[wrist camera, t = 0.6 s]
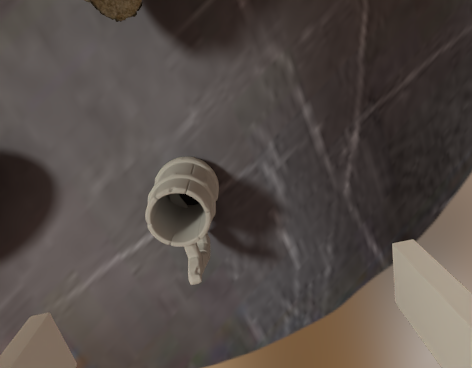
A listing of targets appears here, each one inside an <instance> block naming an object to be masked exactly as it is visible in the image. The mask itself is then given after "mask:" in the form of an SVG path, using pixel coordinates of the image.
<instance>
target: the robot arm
mask: <svg viewBox="0 0 472 368" xmlns="http://www.w3.org/2000/svg"><path fill="white" fill-rule="evenodd" d="M392 250H393V270H394V289H395V303H396V305H397V306H398V308H399V309H400V310H401V312H402V313H403V315H404V316H405V317H406V319H407V320H408V322H409V323H410V324H411V326H412V327H413V328H414V330H415V331H416V333H417V334H418V335H419V337H420V338H421V340H422V341H423V342H424V344H425V345H426V347H427V348H428V349H429V351H430V352H431V354H432V355H433V356H434V358H435V359H436V361H437V362H438V363H439V365H440V366H441V367H442V368H472V293H471V292H470V291H469V290H468V289H467V288H465V287H464V286H463V285H462V284H461V283H460V282H459V281H458V280H457V279H456V278H454V276H452V275H451V274H450V273H449V272H448V271H447V270H446V269H445V268H444V267H443V266H442V265H441V264H440V263H438V262H437V261H436V260H435V259H434V258H433V257H432V256H431V255H430V254H429V253H428V252H426V251H425V250H424V249H423V248H422V247H421V246H420V245H419V244H418V243H417V242H416V241H415V240H414V239H412V240H407V241H402V242H397V243H392ZM76 366H77V363H76V361H75V359H74V358H73V356H72V354H71V352H70V350H69V348H68V346H67V344H66V343H65V341H64V339H63V337H62V335H61V333H60V331H59V329H58V328H57V326H56V324H55V322H54V320H53V318H52V316H51V314H50V313H45V314H40V315H35V316H30V318H29V319H28V320H27V321H26V323H25V324H24V325H23V327H22V328H21V329H20V331H19V332H18V333H17V334H16V336H15V337H14V338H13V340H12V341H11V342H10V343H9V345H8V346H7V347H6V349H5V350H4V351H3V353H2V354H1V355H0V368H76Z"/></svg>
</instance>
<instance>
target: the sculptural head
mask: <svg viewBox="0 0 472 368" xmlns="http://www.w3.org/2000/svg"><path fill="white" fill-rule="evenodd" d="M85 1H87V2H91V4H93V6H94V7H95V8H96V9H97V10H99V11H100V13H101V14H102V15H105V16H106V17H109V18H111V19H112V20H113V19H115V20H116V22H118V21H120V22H121V21H122V20H125V19H126V18H128V17H132V16H133V17H135V16H136V15H137V12H136V11H139V9H140V8H141V6H142V3H141V1H142V0H85ZM138 8H139V9H138Z"/></svg>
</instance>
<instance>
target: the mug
mask: <svg viewBox="0 0 472 368" xmlns="http://www.w3.org/2000/svg"><path fill="white" fill-rule="evenodd" d="M178 193H181V194H186V195H189V196H191V197H193V198H194V199H196V200H197V201H198V202H199V204H196V205H186V203H185V202H184V201H183V199H182V198H181V197H180V195H179V194H178ZM218 193H219V183H218V179H217V176H216V174H215V172H214V171H213V169H212V168H211V167H210V166H209V165H208V164H207V163H205V162H204V161H202V160H200V159H196V158H195V157H179V158H176V159H173V160H171V161H170V162H168V163H167V164H165V165H164V166H163V167H162V168H161V170H160V171H159V173H158V175H157V176H156V178H155V185H154V187H153V189H152V190H151V192H150V193H149V195H148V206H147V209H146V215H145V218H146V221H147V224H148V229H149V230H150V232H151V233H152V235H153V236H154V237H155V238H157V239H158V240H159V241H161V242H162V243H164V244H167V245H170V244H171V246H176V247H184V248H185V251H186V253H187V256H188V277H189V282H190V284H191V285H194V284H198V283H200V282H201V281H202V273H203V272H204V269H205V267H206V265H207V263H208V261H209V259H210V238H209V236H208V233H207V232H208V230H209V227H210V224H211V221H212V219H213V217H214V216H215V213H216V201H217V199H218Z"/></svg>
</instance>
